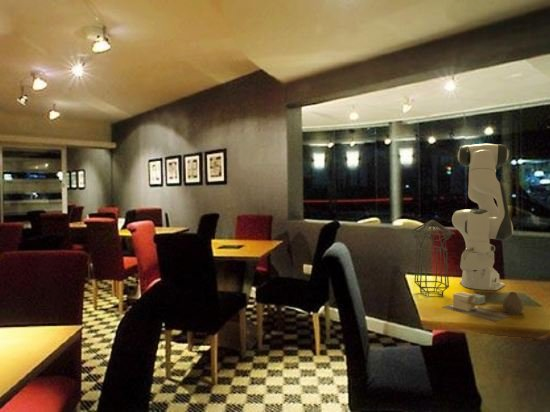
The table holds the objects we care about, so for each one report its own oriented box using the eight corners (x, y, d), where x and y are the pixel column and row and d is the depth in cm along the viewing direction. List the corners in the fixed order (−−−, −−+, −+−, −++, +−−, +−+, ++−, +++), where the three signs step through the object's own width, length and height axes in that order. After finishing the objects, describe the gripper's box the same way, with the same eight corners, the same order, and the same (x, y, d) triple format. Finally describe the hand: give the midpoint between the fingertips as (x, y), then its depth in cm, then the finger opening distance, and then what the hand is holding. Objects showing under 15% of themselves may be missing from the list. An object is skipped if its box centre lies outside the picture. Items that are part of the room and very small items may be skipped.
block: (461, 303, 174) (461, 291, 173) (475, 307, 169) (475, 294, 168) (453, 305, 170) (453, 294, 170) (466, 309, 165) (467, 297, 165)
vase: (514, 318, 158) (515, 295, 157) (498, 313, 164) (499, 291, 164) (527, 316, 160) (527, 293, 160) (510, 311, 167) (511, 289, 166)
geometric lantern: (420, 298, 186) (420, 221, 184) (409, 290, 201) (410, 219, 200) (455, 299, 185) (456, 221, 184) (442, 290, 201) (443, 219, 199)
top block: (473, 302, 180) (473, 293, 180) (484, 305, 176) (485, 295, 176) (467, 304, 177) (467, 295, 177) (479, 307, 173) (479, 297, 173)
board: (459, 304, 176) (459, 301, 176) (513, 317, 158) (513, 314, 158) (441, 309, 169) (441, 306, 169) (495, 324, 151) (495, 321, 151)
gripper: (471, 249, 167) (470, 283, 167) (497, 246, 178) (496, 278, 179) (456, 247, 172) (455, 280, 172) (483, 245, 183) (482, 276, 184)
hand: (476, 279), depth 175 cm, fingers open, 8 cm apart
